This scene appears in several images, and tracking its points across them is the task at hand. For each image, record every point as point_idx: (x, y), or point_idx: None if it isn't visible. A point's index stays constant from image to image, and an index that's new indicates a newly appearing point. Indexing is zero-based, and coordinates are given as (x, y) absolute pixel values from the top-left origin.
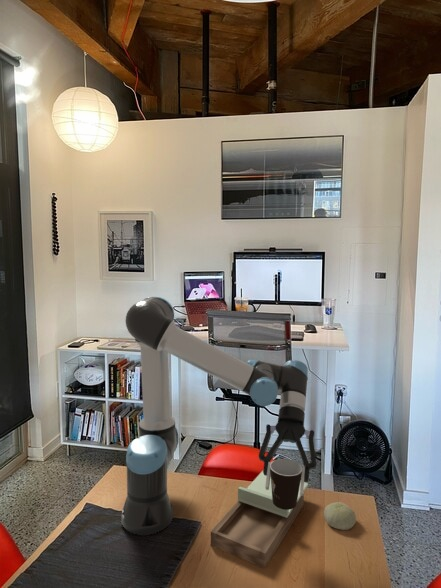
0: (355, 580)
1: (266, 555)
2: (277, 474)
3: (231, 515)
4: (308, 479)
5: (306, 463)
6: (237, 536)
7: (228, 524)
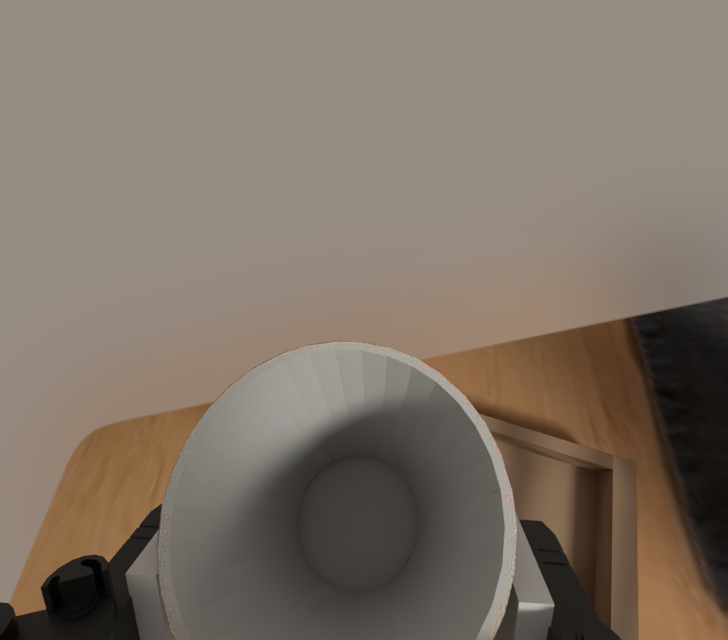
0: (162, 419)
1: None
2: (409, 361)
3: (610, 604)
4: (153, 514)
5: (74, 628)
6: (533, 500)
7: (596, 568)
